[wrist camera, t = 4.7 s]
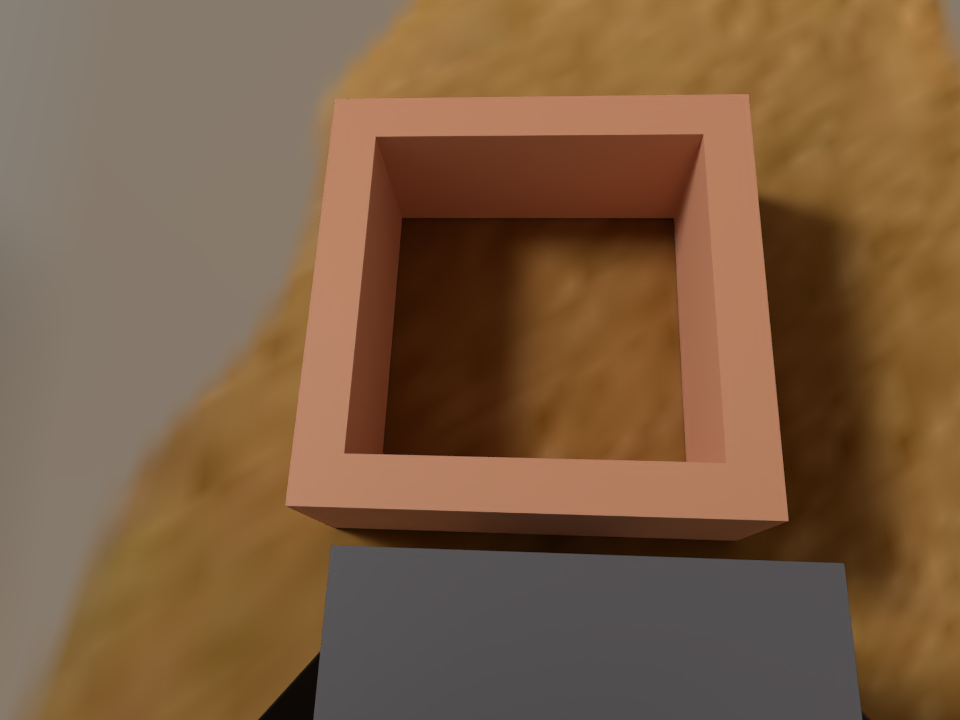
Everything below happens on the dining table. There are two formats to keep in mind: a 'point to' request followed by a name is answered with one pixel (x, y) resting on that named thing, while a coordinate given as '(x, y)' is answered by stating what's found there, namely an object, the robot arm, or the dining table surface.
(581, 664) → the plug
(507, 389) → the dining table surface
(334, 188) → the socket
